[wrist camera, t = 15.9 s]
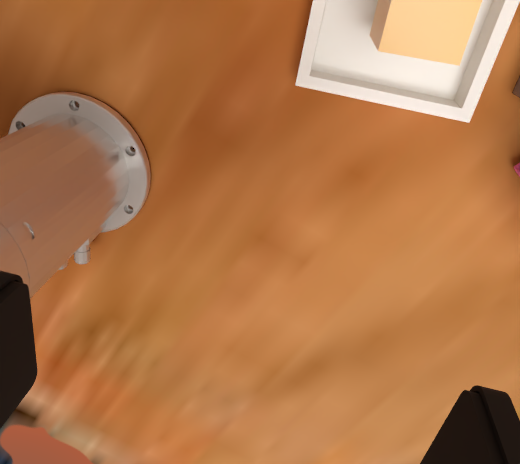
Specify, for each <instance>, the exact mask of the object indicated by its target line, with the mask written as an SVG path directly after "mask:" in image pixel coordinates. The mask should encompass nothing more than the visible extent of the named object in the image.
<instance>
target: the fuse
mask: <svg viewBox="0 0 520 464" xmlns="http://www.w3.org/2000/svg"><path fill="white" fill-rule="evenodd" d="M481 3H482V0H378V3H377V7H376V11H375V15H374V19H373V23H372V27H371V31H370V35H369V36H370V37H371V39H372V41H373V43H374V45H375V46H376V48H377V50H378V51H380V52H385V53H391V54H396V55H402V56H408V57H413V58H419V59H424V60H430V61H436V62H441V63H447V64H452V65H458V66H460V63H461V60H462V57H463V54H464V51H465V48H466V46H467V43H468V40H469V37H470V34H471V31H472V28H473V26H474V23H475V20H476V17H477V14H478V11H479V9H480V6H481Z"/></svg>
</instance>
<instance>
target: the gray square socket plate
mask: <svg viewBox="0 0 520 464" xmlns="http://www.w3.org/2000/svg"><path fill="white" fill-rule="evenodd" d="M513 94H515V95H516V96H518V97H519V98H520V77H519V79H518V81H517V84H516V86H515V88H514V90H513Z"/></svg>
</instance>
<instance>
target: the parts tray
mask: <svg viewBox="0 0 520 464" xmlns="http://www.w3.org/2000/svg"><path fill="white" fill-rule="evenodd" d="M519 2H520V0H482V3H481V6H480V9H479V11H478V14H477V17H476V20H475V23H474V26H473V28H472V31H471V34H470V37H469V40H468V43H467V46H466V48H465V51H464V54H463V57H462V60H461V63H460V66H458V65H452V64H447V63H441V62H436V61H430V60H424V59H419V58H413V57H408V56H402V55H396V54H391V53H385V52H380V51H378V50H377V48H376V46H375V45H374V43H373V41H372V39H371V37H370V36H369V35H370V31H371V27H372V23H373V19H374V15H375V11H376V7H377V3H378V0H313V3H312V8H311V13H310V17H309V22H308V27H307V32H306V36H305V41H304V46H303V51H302V56H301V60H300V65H299V70H298V75H297V79H296V84H295V85H296V86H300V87H305V88H310V89H314V90H319V91H324V92H328V93H333V94H338V95H342V96H347V97H351V98H356V99H361V100H365V101H370V102H375V103H379V104H384V105H389V106H393V107H398V108H403V109H407V110H412V111H417V112H421V113H426V114H431V115H435V116H440V117H445V118H449V119H454V120H459V121H463V122H468V123H469V122H470V120H471V117H472V115H473V112H474V110H475V108H476V105H477V103H478V100H479V98H480V96H481V93H482V91H483V88H484V86H485V84H486V81H487V79H488V76H489V74H490V71H491V69H492V67H493V64H494V62H495V59H496V57H497V55H498V52H499V50H500V47H501V45H502V43H503V40H504V38H505V35H506V33H507V30H508V28H509V26H510V23H511V21H512V18H513V16H514V14H515V11H516V9H517V6H518V4H519Z"/></svg>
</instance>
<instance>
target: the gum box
mask: <svg viewBox="0 0 520 464" xmlns="http://www.w3.org/2000/svg"><path fill="white" fill-rule="evenodd" d="M514 169H515V171H516V173H517V174H518V175H519V177H520V163H518V164H517V165H515V166H514Z"/></svg>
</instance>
